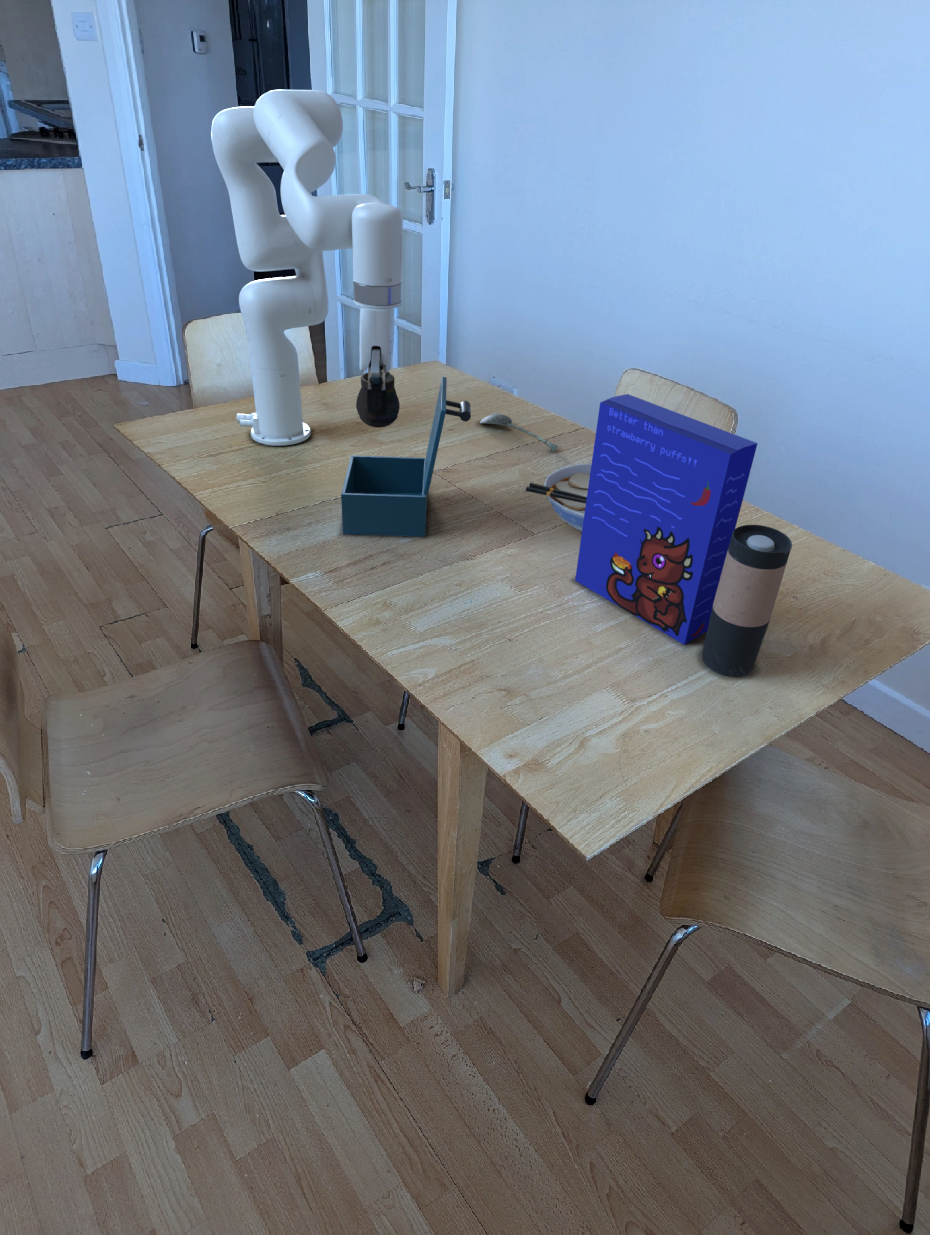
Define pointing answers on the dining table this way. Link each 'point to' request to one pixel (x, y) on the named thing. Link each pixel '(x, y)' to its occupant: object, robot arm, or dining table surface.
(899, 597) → the dining table surface
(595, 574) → the cereal box
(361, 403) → the mate gourd
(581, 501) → the ramen bowl
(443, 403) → the lid
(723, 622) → the travel mug
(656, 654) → the dining table surface
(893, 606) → the dining table surface
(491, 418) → the soupspoon
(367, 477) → the blue open rectangular box
